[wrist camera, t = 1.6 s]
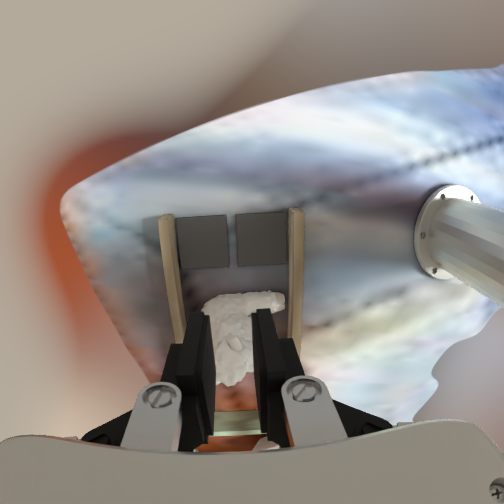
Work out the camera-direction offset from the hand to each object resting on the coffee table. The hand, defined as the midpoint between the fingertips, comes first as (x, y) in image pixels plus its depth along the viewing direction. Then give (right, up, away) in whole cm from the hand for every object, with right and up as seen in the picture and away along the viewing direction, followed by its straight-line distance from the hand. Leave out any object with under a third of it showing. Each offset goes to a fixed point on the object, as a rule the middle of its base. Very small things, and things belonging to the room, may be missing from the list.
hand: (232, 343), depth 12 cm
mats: (-1, +5, +21) cm, 21 cm away
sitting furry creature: (-1, -4, +24) cm, 24 cm away
